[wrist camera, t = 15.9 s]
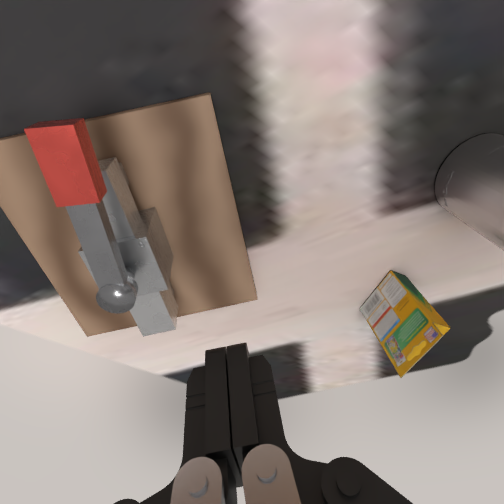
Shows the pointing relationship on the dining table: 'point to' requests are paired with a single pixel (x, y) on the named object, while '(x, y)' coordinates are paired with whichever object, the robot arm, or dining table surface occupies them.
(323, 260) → the dining table surface
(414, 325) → the crayon box
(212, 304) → the walnut board
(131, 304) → the lever
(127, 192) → the steel pipe and valve
